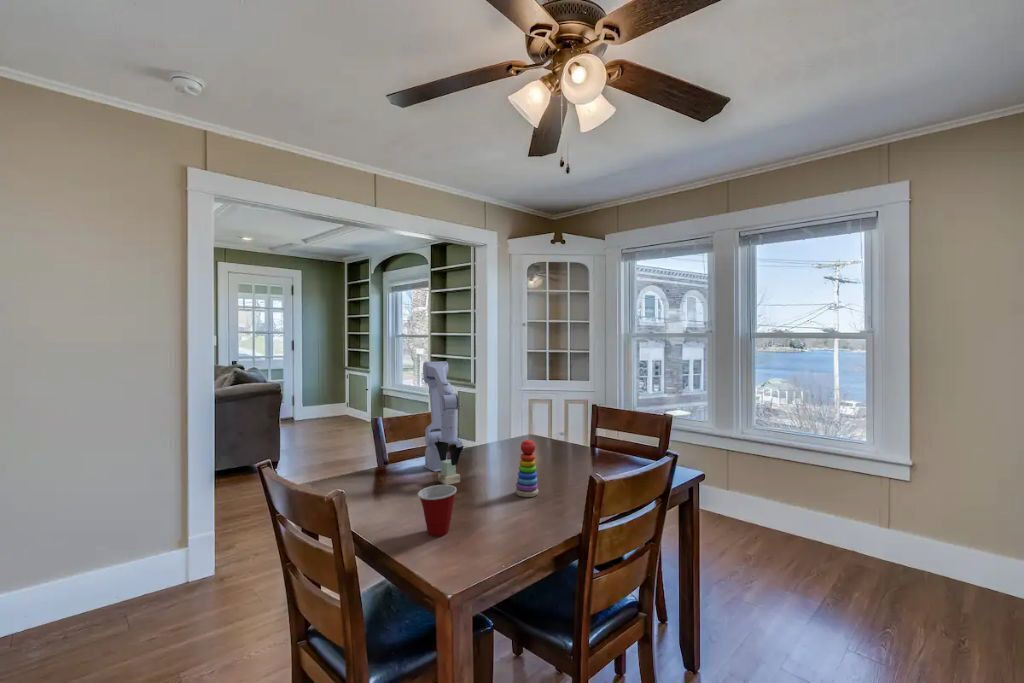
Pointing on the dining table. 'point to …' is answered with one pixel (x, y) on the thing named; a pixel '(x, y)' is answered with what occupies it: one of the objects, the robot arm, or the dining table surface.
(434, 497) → the plastic cup
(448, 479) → the maple base
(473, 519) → the dining table surface
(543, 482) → the dining table surface
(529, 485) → the stacking toy
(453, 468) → the sage block
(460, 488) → the dining table surface
